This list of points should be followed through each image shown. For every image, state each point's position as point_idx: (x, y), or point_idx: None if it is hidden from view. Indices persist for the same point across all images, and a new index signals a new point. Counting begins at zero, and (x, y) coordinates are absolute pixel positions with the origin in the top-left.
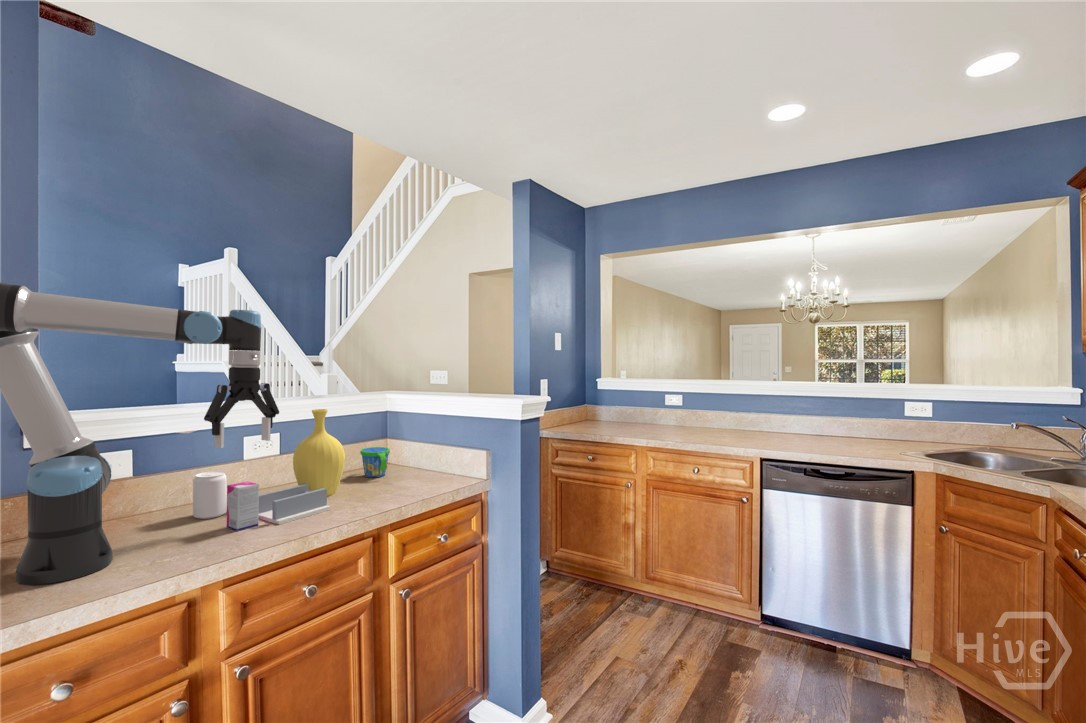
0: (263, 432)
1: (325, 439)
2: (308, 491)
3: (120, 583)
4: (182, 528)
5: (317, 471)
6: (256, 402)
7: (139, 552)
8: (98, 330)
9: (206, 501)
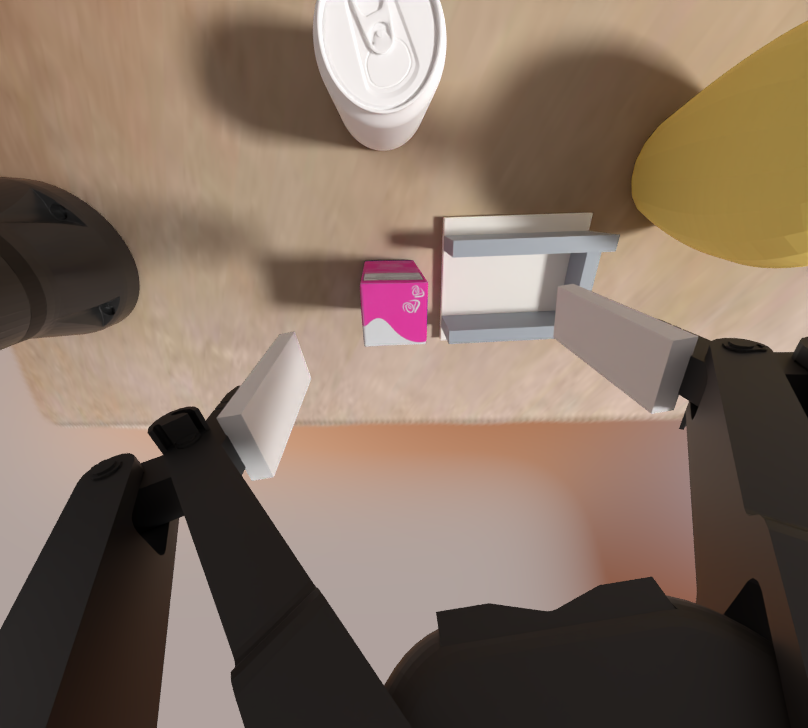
0: (583, 317)
1: None
2: (598, 253)
3: (160, 395)
4: (289, 169)
5: (689, 239)
6: (713, 538)
7: (187, 274)
8: None
9: (353, 130)
